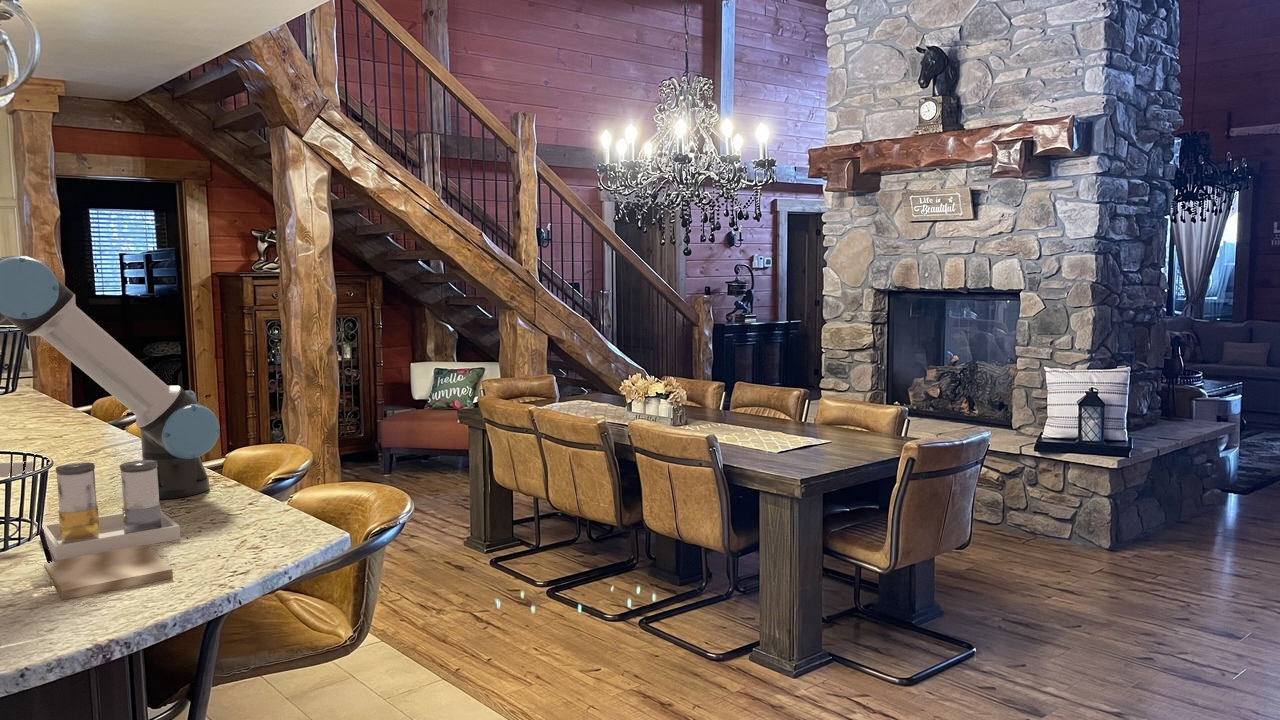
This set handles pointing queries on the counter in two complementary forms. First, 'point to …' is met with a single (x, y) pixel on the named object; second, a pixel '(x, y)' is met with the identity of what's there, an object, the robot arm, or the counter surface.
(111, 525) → the white shaker tray
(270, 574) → the counter surface
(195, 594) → the counter surface
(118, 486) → the counter surface
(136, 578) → the board
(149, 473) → the clear grey lidded jar
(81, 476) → the lidded honey jar
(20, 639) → the counter surface
